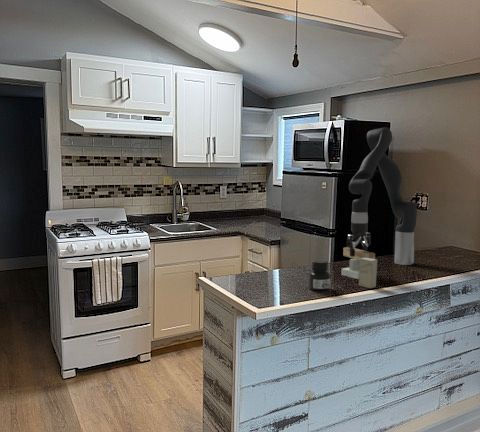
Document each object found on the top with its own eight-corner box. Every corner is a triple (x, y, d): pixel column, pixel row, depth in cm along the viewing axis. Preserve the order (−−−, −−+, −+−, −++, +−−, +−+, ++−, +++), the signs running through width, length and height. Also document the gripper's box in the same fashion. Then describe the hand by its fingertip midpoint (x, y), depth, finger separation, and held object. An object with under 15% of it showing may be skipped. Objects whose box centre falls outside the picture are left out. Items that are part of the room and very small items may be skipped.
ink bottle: (315, 292, 190) (315, 264, 189) (304, 287, 198) (304, 260, 197) (334, 290, 194) (335, 262, 192) (323, 285, 202) (323, 258, 201)
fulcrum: (358, 271, 227) (358, 255, 226) (374, 275, 219) (375, 259, 218) (341, 274, 220) (341, 258, 219) (357, 279, 212) (357, 262, 211)
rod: (349, 255, 228) (349, 247, 227) (374, 262, 211) (375, 253, 211) (343, 255, 226) (343, 247, 225) (367, 262, 210) (368, 254, 209)
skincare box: (358, 285, 200) (359, 258, 199) (364, 284, 203) (364, 257, 202) (371, 288, 196) (372, 260, 195) (376, 286, 199) (377, 259, 198)
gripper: (363, 219, 224) (362, 252, 226) (342, 221, 216) (342, 255, 218) (375, 221, 218) (374, 255, 219) (355, 223, 210) (354, 258, 211)
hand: (358, 255), depth 218 cm, fingers open, 8 cm apart
